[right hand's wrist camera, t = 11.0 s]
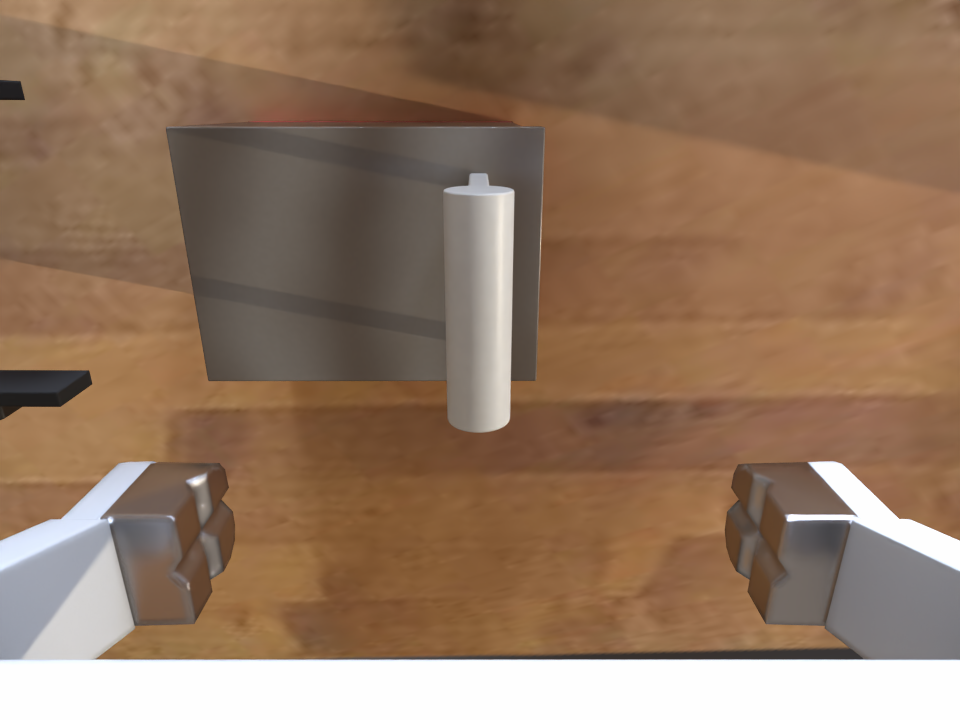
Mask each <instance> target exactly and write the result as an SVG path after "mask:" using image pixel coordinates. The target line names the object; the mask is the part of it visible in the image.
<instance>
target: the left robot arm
mask: <svg viewBox="0 0 960 720" xmlns="http://www.w3.org/2000/svg"><path fill="white" fill-rule="evenodd" d="M0 100H25V98H24V94H23V90H22V86H21V82H20V81H7V80H0ZM90 385H92V381H91V376H90V372H89V371H55V370H0V420H2V419H4V418H6V417H7V416H9V415H10V414H12V413H13V412H15V411H16V410H18V409H20V408H21V407H61V406H62V405H64V404H65V403H66V402H68V401H69V400H71V399H72V398H73V397H75V396H76V395H78V394H79V393H80V392H82V391H83V390H85V389H86V388H87V387H89V386H90Z"/></svg>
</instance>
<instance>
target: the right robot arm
mask: <svg viewBox="0 0 960 720" xmlns="http://www.w3.org/2000/svg"><path fill="white" fill-rule="evenodd" d="M228 488H229V486H228V481H227V476H226V472H225V469H224V468H223V467H222V466H221V464H220V463H185V462H157V463H156V462H154V461H149V462H124V463H119V464H118V465H117V466H116V467H114V468H113V469H112V470H111V471H110V472H109V473H108V474H107V475H106V476H105V477H104V478H103V479H102V480H101V481H100V482H99V483H98V484H97V485H96V486H95V487H94V488H93V489H92V490H91V491H90V492H89V493H88V494H87V495H85V496H84V497H83V498H82V499H81V500H80V501H79V502H78V503H77V504H76V505H75V506H74V507H73V508H72V509H71V510H70V511H69V512H68V513H67V514H66V515H65V516H64V517H63V518H62V519H50V520H48V521H45V522H43V523H41V524H38V525H36V526H34V527H31V528H29V529H27V530H24V531H22V532H20V533H17V534H15V535H13V536H10V537H8V538H6V539H3V540H1V541H0V720H960V541H959V540H957V539H954V538H952V537H950V536H947V535H945V534H943V533H940V532H938V531H936V530H933V529H931V528H929V527H926V526H924V525H922V524H919V523H917V522H915V521H912V520H910V519H898V518H897V517H896V516H895V515H894V514H893V513H892V512H891V511H890V510H889V509H888V508H887V507H886V506H885V505H884V504H883V503H882V502H881V501H880V500H879V499H878V498H877V497H876V496H875V495H874V494H873V493H872V492H870V491H869V490H868V489H867V488H866V487H865V486H864V485H863V484H862V483H861V482H860V481H859V480H858V479H857V478H856V477H855V476H854V475H853V474H852V473H851V472H850V471H849V470H848V469H847V468H846V467H845V466H844V465H843V464H840V463H837V462H835V461H827V462H793V463H753V464H738V466H737V468H736V470H735V472H734V475H733V480H732V486H731V488H732V490H733V491H734V493H735V494H736V496H737V497H738V499H739V500H738V501H737V502H736V503H735V504H734V505H733V506H732V507H731V508H730V509H729V510H728V511H727V517H726V525H725V537H726V548H727V551H728V554H729V557H730V560H731V562H732V564H733V566H734V568H735V570H736V571H737V572H738V573H740V574H741V575H743V576H744V577H746V578H748V579H749V580H750V581H749V587H748V593H749V595H750V597H751V599H752V600H753V602H754V604H755V606H756V607H757V609H758V611H759V613H760V615H761V616H762V618H763V620H764V622H765V623H766V624H781V625H818V626H825V629H826V630H828V631H829V632H830V633H832V634H833V635H834V636H835V637H837V638H838V639H839V640H841V641H842V642H843V643H844V644H846V645H847V646H848V647H850V648H851V649H852V650H854V651H855V652H856V653H858V654H859V655H860V656H861V657H863V658H864V659H865V660H95V659H96V658H98V657H99V656H100V655H101V654H103V653H104V652H105V651H107V650H108V649H109V648H111V647H112V646H113V645H114V644H116V643H117V642H118V641H120V640H121V639H122V638H124V637H125V636H126V635H127V634H129V633H130V632H131V631H133V630H134V629H135V626H142V625H178V624H194V623H195V622H196V620H197V618H198V616H199V615H200V613H201V611H202V609H203V607H204V606H205V604H206V602H207V600H208V599H209V597H210V595H211V593H212V587H211V581H210V580H211V579H212V578H214V577H216V576H217V575H219V574H220V573H222V572H223V571H224V570H225V568H226V566H227V564H228V562H229V560H230V558H231V554H232V550H233V545H234V541H235V523H234V516H233V511H232V510H231V509H230V508H229V507H228V506H227V505H226V504H225V503H224V502H223V501H222V500H221V499H222V497H223V496H224V494H225V493H226V491H227V490H228Z"/></svg>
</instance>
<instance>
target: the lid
mask: <svg viewBox="0 0 960 720" xmlns="http://www.w3.org/2000/svg"><path fill="white" fill-rule="evenodd" d="M166 132H167V137H168V143H169V149H170V155H171V161H172V167H173V173H174V179H175V185H176V191H177V197H178V203H179V209H180V215H181V221H182V227H183V233H184V239H185V245H186V251H187V257H188V262H189V268H190V274H191V280H192V286H193V292H194V298H195V304H196V310H197V316H198V322H199V328H200V334H201V340H202V346H203V352H204V358H205V364H206V370H207V376H208V380H209V381H447V414H448V421H449V423H450V424H451V425H452V426H454V427H455V428H457V429H460V430H463V431H467V432H477V433H480V432H490V431H495V430H498V429H500V428H502V427H504V426H505V425H507V423H508V422H509V420H510V392H511V381H536V373H537V345H538V316H539V288H540V260H541V231H542V203H543V175H544V147H545V127H542V126H174V127H166Z"/></svg>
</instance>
